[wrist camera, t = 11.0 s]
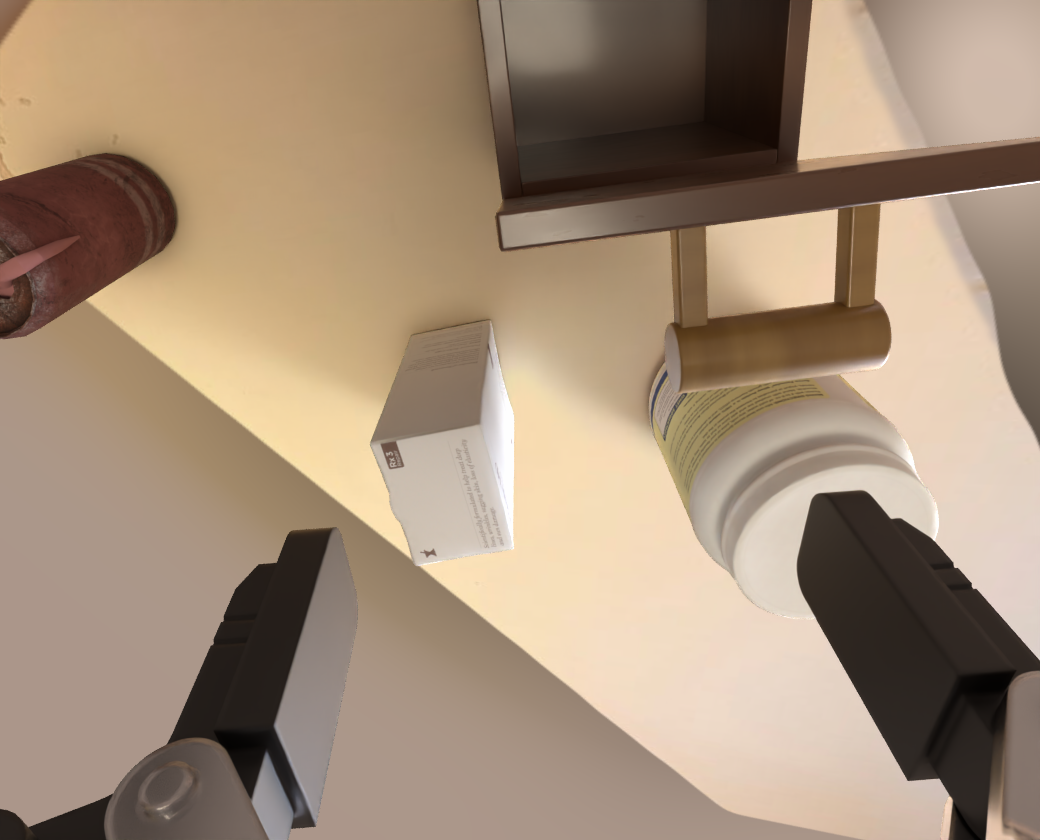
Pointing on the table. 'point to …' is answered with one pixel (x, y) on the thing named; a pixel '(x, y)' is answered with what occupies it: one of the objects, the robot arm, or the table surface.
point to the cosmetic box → (449, 445)
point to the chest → (641, 88)
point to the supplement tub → (779, 472)
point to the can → (74, 235)
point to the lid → (756, 195)
